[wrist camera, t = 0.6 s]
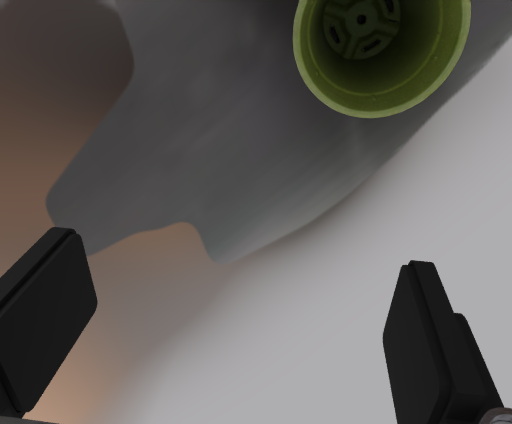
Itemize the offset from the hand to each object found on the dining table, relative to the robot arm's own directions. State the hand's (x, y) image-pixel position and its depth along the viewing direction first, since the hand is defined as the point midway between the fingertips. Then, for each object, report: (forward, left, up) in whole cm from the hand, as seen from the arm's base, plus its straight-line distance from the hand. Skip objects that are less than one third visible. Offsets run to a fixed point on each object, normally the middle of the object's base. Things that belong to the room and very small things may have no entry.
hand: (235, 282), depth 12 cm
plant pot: (+2, +7, -33) cm, 34 cm away
